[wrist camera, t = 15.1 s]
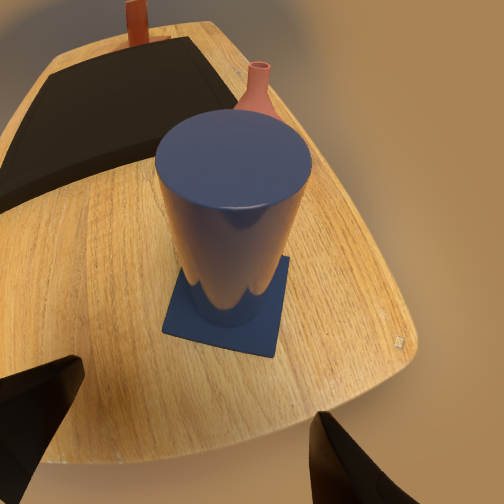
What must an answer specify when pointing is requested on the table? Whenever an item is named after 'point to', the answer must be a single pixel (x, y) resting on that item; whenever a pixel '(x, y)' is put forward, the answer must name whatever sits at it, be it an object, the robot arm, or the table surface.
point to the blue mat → (237, 339)
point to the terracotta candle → (137, 22)
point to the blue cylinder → (231, 205)
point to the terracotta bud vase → (257, 91)
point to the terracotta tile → (151, 39)
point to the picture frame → (107, 115)
